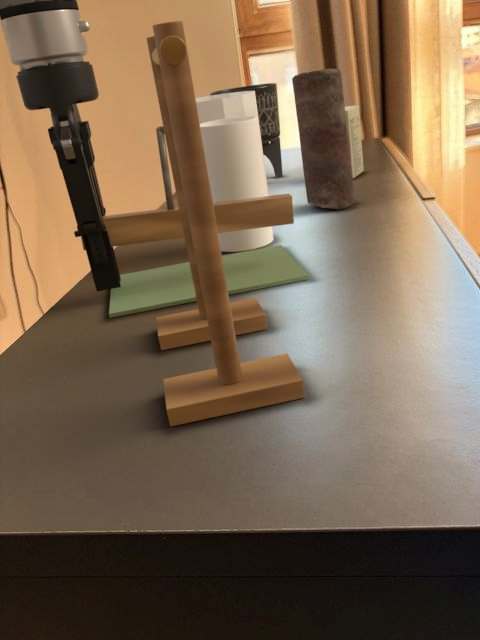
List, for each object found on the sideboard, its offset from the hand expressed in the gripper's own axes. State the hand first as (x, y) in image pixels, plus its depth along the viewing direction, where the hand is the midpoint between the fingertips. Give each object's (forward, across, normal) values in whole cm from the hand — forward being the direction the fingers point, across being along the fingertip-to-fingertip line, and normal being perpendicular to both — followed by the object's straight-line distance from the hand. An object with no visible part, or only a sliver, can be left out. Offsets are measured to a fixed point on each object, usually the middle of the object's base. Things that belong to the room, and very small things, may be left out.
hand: (108, 285), depth 74 cm
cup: (+2, +13, -18) cm, 22 cm away
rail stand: (+2, -23, -10) cm, 25 cm away
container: (+2, +35, -19) cm, 40 cm away
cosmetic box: (+2, +47, -44) cm, 64 cm away
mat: (+2, 0, -11) cm, 11 cm away
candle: (+2, +25, -34) cm, 42 cm away
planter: (+2, +58, -28) cm, 64 cm away
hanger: (-4, 0, -10) cm, 11 cm away
